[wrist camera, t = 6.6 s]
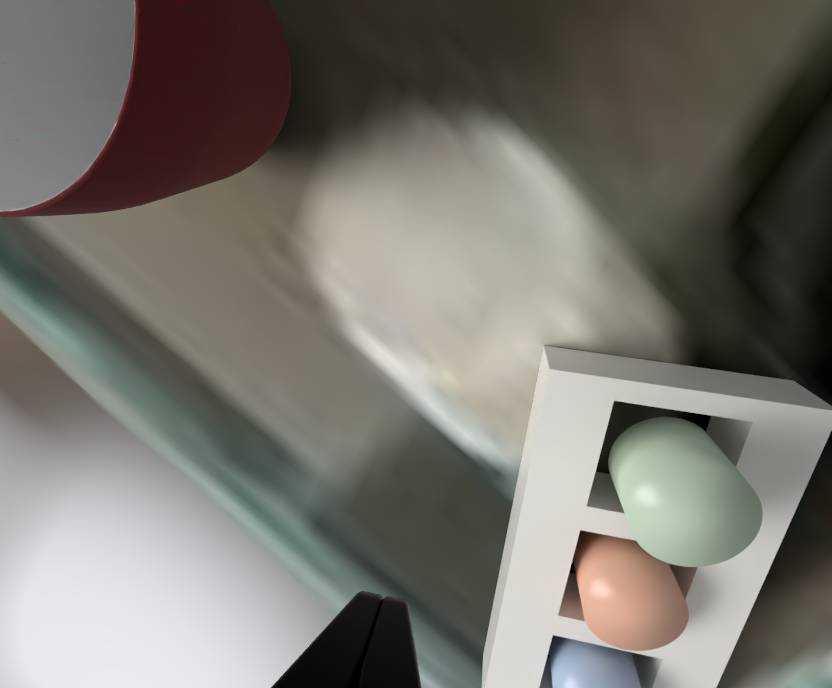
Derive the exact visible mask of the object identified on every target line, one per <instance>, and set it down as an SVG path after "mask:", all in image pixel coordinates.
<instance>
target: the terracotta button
mask: <svg viewBox="0 0 832 688" xmlns="http://www.w3.org/2000/svg"><path fill="white" fill-rule="evenodd" d="M573 562H574V567H575V572H576V578H577V583H578V588H579V593H580V599H581V604H582V609H583V615H584V619H585V622H586V624H587V626H588V628H589V629H590V630H591V632H592V633H593V634H594V635H595V636H597V637H598V638H599V639H600V640H602V641H604V642H605V643H607V644H609V645H612V646H614V647H617V648H621V649H625V650H632V651H646V650H652V649H657V648H660V647H663V646H665V645H668V644H669V643H671V642H673V641H674V640H676V639H677V638H678V637H679V636H680V635H681V634H682V633H683V631H684V630H685V628H686V626H687V623H688V620H689V610H688V606H687V603H686V601H685V599H684V596H683V594H682V592H681V590H680V587H679V585H678V583H677V581H676V578H675V576H674V574H673V571H672V569H671V567H670V565H669V563H666V562H664V561H661V560H659V559H657V558H655V557H653V556H652V555H650V554H649V553H647V552H646V551H645V550H644V549H643V548H642V547H641V546H640V545H639V544H638V542H637V541H635V540H630V539H624V538H619V537H614V536H609V535H603V534H598V533H593V532H587V531H581V532H580V533H579V537H578V541H577V545H576V549H575V552H574V556H573Z"/></svg>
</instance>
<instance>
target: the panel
mask: <svg viewBox="0 0 832 688" xmlns="http://www.w3.org/2000/svg"><path fill="white" fill-rule="evenodd" d="M614 401H619V402H625V403H632V404H639V405H645V406H652V407H658V408H665V409H671V410H678V411H684V412H691V413H697V414H704V415H710V416H711V418H710V421H709V424H708V427H707V430H706V432H707V434H708V435H709V436H710V437H711V438H712V439H713V441H714V442H715V443H716V444H717V446H718V447H719V448H720V449H721V450H722V452H723V453H724V454H725V455H726V456H727V458H728V459H729V460H730V461H731V463H732V464H733V465H734V466H735V467H736V469H737V470H738V471H739V472H740V473H741V475H742V476H743V477H744V478H745V479H746V481H747V482H748V483H749V484H750V486H751V487H752V488H753V489H754V490H755V492H756V494H757V495H758V497H759V499H760V502H761V505H762V511H763V518H762V524H761V527H760V530H759V532H758V534H757V536H756V538H755V539H754V540H753V542H752V543H751V544H750V545H749V546H748V547H747V548H746V549H745V550H743V551H742V552H741V553H739V554H738V555H736V556H735V557H733V558H731V559H729V560H727V561H724V562H721V563H718V564H714V565H710V566H703V567H684V566H677V565H673V564H669V565H670V567H671V569H672V571H673V574H674V576H675V578H676V581H677V583H678V585H679V587H680V590H681V592H682V594H683V596H684V599H685V601H686V603H687V606H688V610H689V620H688V623H687V626H686V628H685V630H684V631H683V633H682V634H681V635H680V636H679V637H678V638H677V639H676V640H674V641H673V642H671V643H669V644H668V645H665V646H663V647H660V648H657V649H652V650H646V651H632V650H625V649H621V648H617V647H614V646H612V645H609V644H607V643H605V642H604V641H602V640H600V639H599V638H598V637H597V636H595V635H594V634H593V633H592V632H591V630H590V629H589V628H588V626H587V624H586V622H585V619H584V615H583V609H582V604H581V599H580V593H579V588H578V583H577V578H576V574H574V573H569V571H570V568H571V564H572V560H573V556H574V552H575V549H576V545H577V541H578V537H579V533H580V530H582V531H587V532H593V533H598V534H603V535H609V536H614V537H619V538H624V539H630V540H635V538H634V536H633V534H632V532H631V529H630V526H629V524H628V521H627V518H626V515H625V513H624V510H623V507H622V505H621V502H620V499H619V497H618V494H617V491H616V489H615V486H614V483H613V481H612V478H611V475H610V474H606V473H600V472H596V468H597V464H598V460H599V457H600V453H601V449H602V445H603V441H604V438H605V434H606V430H607V426H608V422H609V418H610V415H611V411H612V407H613V403H614ZM831 431H832V406H831V405H829V404H828V403H826V402H825V401H823V400H822V399H820V398H819V397H817V396H816V395H814V394H813V393H811V392H810V391H808V390H807V389H805V388H804V387H802V386H801V385H800V384H798V383H797V382H795V381H793V380H786V379H778V378H771V377H764V376H757V375H750V374H743V373H736V372H729V371H722V370H714V369H707V368H700V367H693V366H686V365H679V364H672V363H665V362H657V361H650V360H643V359H636V358H629V357H622V356H615V355H608V354H601V353H593V352H586V351H579V350H572V349H565V348H558V347H551V346H543V352H542V357H541V362H540V367H539V372H538V377H537V382H536V387H535V393H534V398H533V403H532V408H531V413H530V418H529V423H528V428H527V433H526V439H525V444H524V449H523V454H522V459H521V464H520V469H519V474H518V479H517V485H516V490H515V495H514V500H513V505H512V510H511V515H510V520H509V526H508V531H507V536H506V541H505V546H504V551H503V556H502V561H501V566H500V572H499V577H498V582H497V587H496V592H495V597H494V602H493V607H492V612H491V618H490V623H489V628H488V633H487V638H486V643H485V648H484V653H483V674H482V688H553V685H552V675H551V665H550V658H548V657H547V656H548V652H549V648H550V644H551V640H552V637H553V635H555V636H560V637H564V638H569V639H573V640H578V641H582V642H587V643H591V644H596V645H600V646H605V647H610V648H614V649H619V650H623V651H628V652H632V655H633V659H634V663H635V666H636V670H637V674H638V677H639V681H640V684H641V688H716V687H717V685H718V683H719V681H720V678H721V676H722V674H723V672H724V669H725V667H726V665H727V663H728V660H729V658H730V656H731V654H732V652H733V649H734V647H735V645H736V643H737V640H738V638H739V636H740V634H741V631H742V629H743V627H744V625H745V623H746V620H747V618H748V616H749V614H750V611H751V609H752V607H753V605H754V602H755V600H756V598H757V596H758V593H759V591H760V589H761V587H762V585H763V582H764V580H765V578H766V576H767V573H768V571H769V569H770V567H771V564H772V562H773V560H774V558H775V556H776V553H777V551H778V549H779V547H780V544H781V542H782V540H783V538H784V535H785V533H786V531H787V529H788V527H789V524H790V522H791V520H792V518H793V515H794V513H795V511H796V509H797V506H798V504H799V502H800V500H801V497H802V495H803V493H804V491H805V489H806V486H807V484H808V482H809V480H810V477H811V475H812V473H813V471H814V468H815V466H816V464H817V462H818V460H819V457H820V455H821V453H822V451H823V448H824V446H825V444H826V442H827V439H828V437H829V435H830V433H831ZM635 541H636V540H635Z"/></svg>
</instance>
